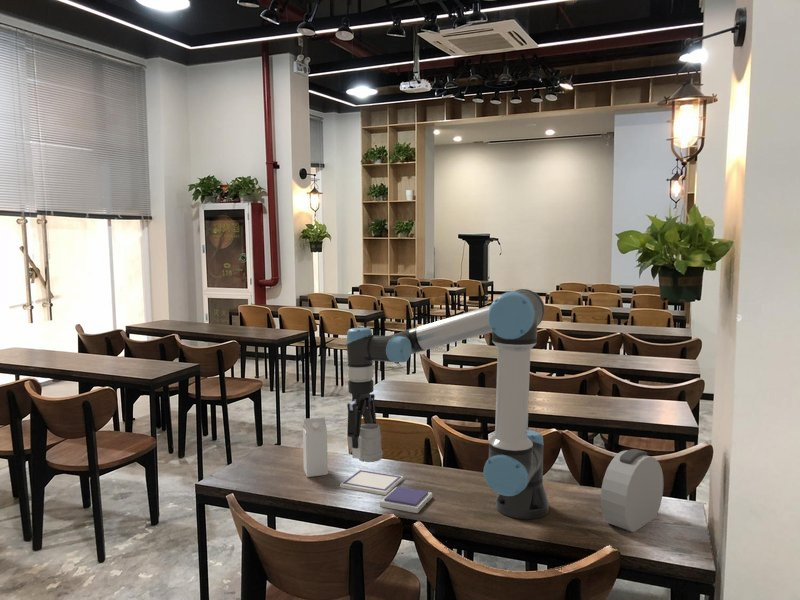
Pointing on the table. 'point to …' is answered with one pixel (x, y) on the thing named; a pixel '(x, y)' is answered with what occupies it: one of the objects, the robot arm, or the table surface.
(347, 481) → the board
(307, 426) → the milk carton
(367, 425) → the mug
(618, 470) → the alarm clock
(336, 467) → the table surface
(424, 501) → the ink pad
